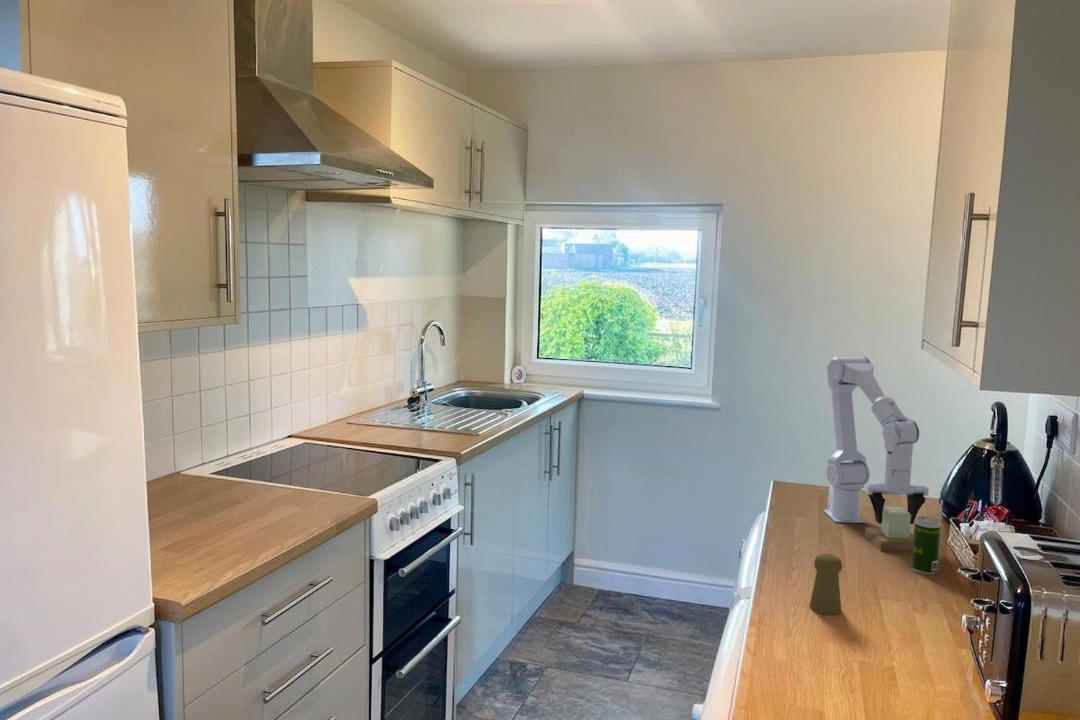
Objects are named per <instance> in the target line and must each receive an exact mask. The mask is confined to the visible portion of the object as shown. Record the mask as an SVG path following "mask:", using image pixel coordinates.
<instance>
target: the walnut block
mask: <svg viewBox="0 0 1080 720" xmlns="http://www.w3.org/2000/svg"><path fill="white" fill-rule="evenodd" d="M864 537H865V538H866V540H867V541H869V542H870V543H871V544H872V545H874V547H876V548H877V550H879V551H880V552H908V553H909V552H910V553H911V552H912V550H913V537H914V533H912V532H911V531H910V535H909V539H907V538H888V537H887V536H886V535H885V534H884V533H883V532H881V527H875V526H873V527H872V526H871V527H870V526H869V527H868V526H865V528H864Z"/></svg>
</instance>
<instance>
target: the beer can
mask: <svg viewBox="0 0 1080 720" xmlns="http://www.w3.org/2000/svg"><path fill="white" fill-rule="evenodd" d="M913 525H914V526H913V535H914V537H913V550H912V553H911V564H910V566H911V569H912V571H913V572H915V573H918V574H920V575H925V576H933V575H936V574H937V572H938V569H939V559H940V558H939V556H940V548H941V547H940V545H941V535H942V534H941V532H942V525H941V520H940V519H938V518H936V517H933V516H926V515H921V516H920V515H919V516H916V517H915V520H914V523H913Z"/></svg>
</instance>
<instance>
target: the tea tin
mask: <svg viewBox="0 0 1080 720" xmlns="http://www.w3.org/2000/svg"><path fill="white" fill-rule="evenodd" d="M907 510H908V509H905V508H904V507H903V506H884V507H883V518H882V524H880V528H881V532H883V533H884V534H885V535H886V536H887V537H888V538H907V539H909V535H910V532H911V524H910V523H911V514H909V512H908V511H907Z"/></svg>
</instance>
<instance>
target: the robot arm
mask: <svg viewBox="0 0 1080 720" xmlns="http://www.w3.org/2000/svg"><path fill="white" fill-rule="evenodd" d="M830 359H831V360H830V361H829V362H828V364H827V365H826V370H827V373H826V374H827V383H828V388H829V389H830V396H831V398H830V399H831V406H832V407H831V408H832V419H833V429H834V438H835V439H834V440H835V452H834V453H832V454H831V455H830V456H829V457H828V458H827V468H826V478H827V481H828V482H829V484H830V487H829V489H828V500H827V509H824V513H826V515H828V516H829V518H831V519H832V520H833V521H834V522H835V523H851V524H852V523H853V524H854V523H856V524H857V523H860V524H861V523H862V524H863V523H866V520H864V518H863V517H862V516H861V505H862V504H861V502H862V501H861V500H862V489H863V488H864V489H865V491H864V493H865V494H867V495H868V498H869V499H870V502H871V504H872V505H871V506H872V508H873V509H872V510H873V512H874V517H875V522H876V523H878V524H879V525H881V524H882V518H883V508H884V507H885V503H886V499H885V498H884V495H903V496H904V495H905V496H906V500H907V501H906V503H907V509H906V510H907V511H908V512H909V514H911V523H910V525H914V523H915V520H916V517H917V515H918V513H919V511H920V509H921V508H922V506H923V505H924V504H925V503H926V497H929V490H930V489H929V488H928V487H927V486H925V485H915V484H911V479H912V477H911V476H912V475H911V474H912V465H913V464H912V462H913V449H914V444H916V443H917V442H918V440H919V438H920V428H919V426H918V424H917V422H916V421H915V420H914V419H910V418H909V417H907V416H905V414H904V413H903V412H902V410H901V408H899V406H898V405H897V403H896V401H895V400H894V399H893V398H892V397H889V396H885V394H884V392H883V390H882V389H881V387H880V386H881V385H879V383H878V381H877V379H876V378H875V376H874V365H873V364H872V362H871V360H870V359H869V357H867V356H862V355H861V356H847V357H846V356H844V357H843V356H841V357H840V356H834V357H832V358H830ZM858 387H859V388H860V390H861V391H862V392H863V393H864V395H865V396H866V397H867V398H868V399H869V402H870V403H872V404H871V408H870V409H871V412H872V414H873V415H874V416H875V418H876V419H877V421H878V422H879V425H880V426H881V428H882V430H881V432H882V437H883V438H882V439H883V440H884V448H885V449H884V450H886V453H885V454H886V455H885V456H886V457H885V470H884V483H877V484H876V483H875V484H868V482H869V481H870V477H871V473H870V468H869V467H868V464H867V458H866V456H865V455H864V454H862V453H861V452H860V451H859V450H858V444H857V435H856V433H857V432H856V424H855V423H856V422H855V413H854V404H853V395H852V394H853V391H855V389H856V388H858ZM844 461H845V462H844ZM847 461H848V462H847ZM849 461H851V462H849Z"/></svg>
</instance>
